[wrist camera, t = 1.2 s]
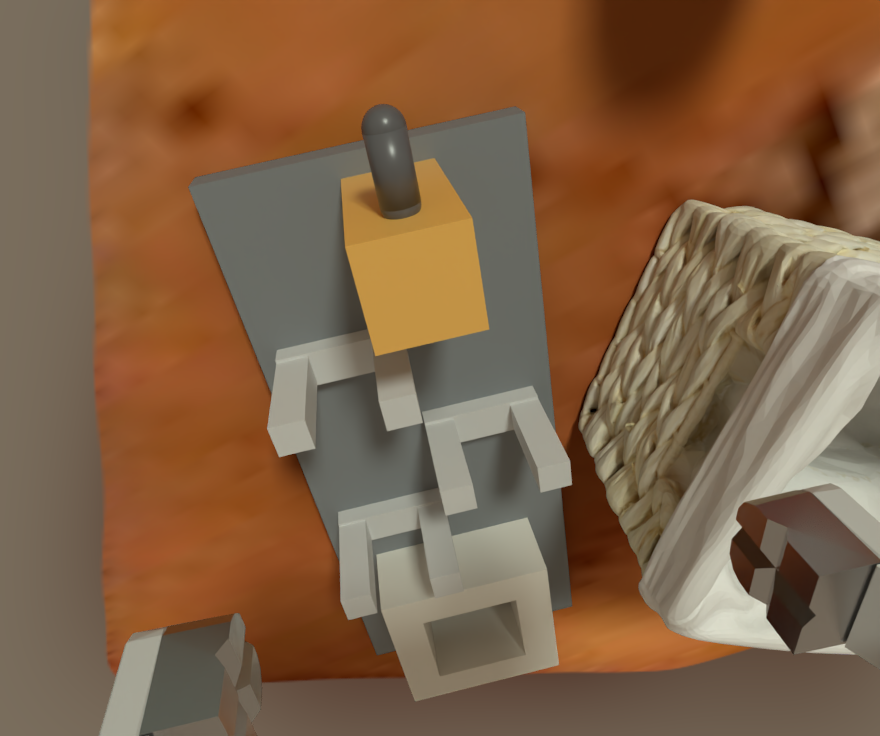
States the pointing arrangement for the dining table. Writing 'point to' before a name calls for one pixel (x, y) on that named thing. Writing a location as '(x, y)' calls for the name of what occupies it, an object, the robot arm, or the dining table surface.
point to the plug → (409, 243)
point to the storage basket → (735, 400)
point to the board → (412, 407)
